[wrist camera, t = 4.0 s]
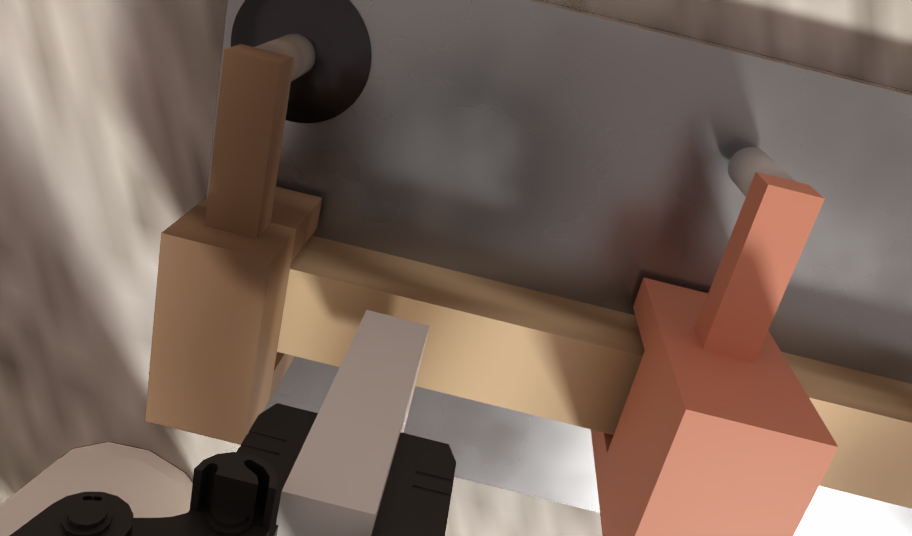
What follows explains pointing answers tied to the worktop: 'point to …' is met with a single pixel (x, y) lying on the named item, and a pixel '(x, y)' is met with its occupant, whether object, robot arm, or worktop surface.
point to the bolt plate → (588, 191)
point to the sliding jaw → (720, 388)
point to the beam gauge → (411, 311)
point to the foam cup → (103, 484)
